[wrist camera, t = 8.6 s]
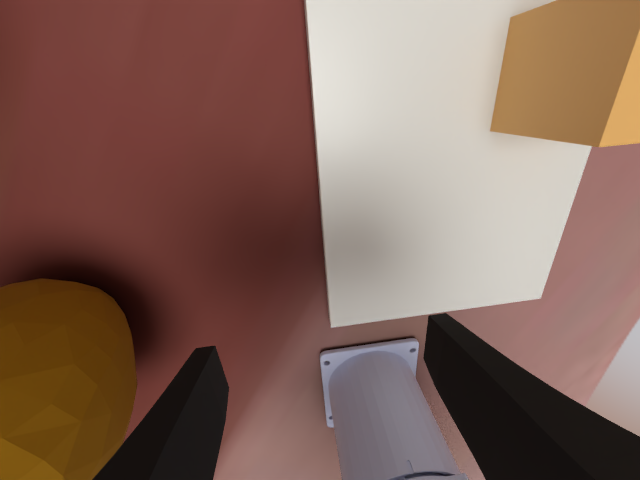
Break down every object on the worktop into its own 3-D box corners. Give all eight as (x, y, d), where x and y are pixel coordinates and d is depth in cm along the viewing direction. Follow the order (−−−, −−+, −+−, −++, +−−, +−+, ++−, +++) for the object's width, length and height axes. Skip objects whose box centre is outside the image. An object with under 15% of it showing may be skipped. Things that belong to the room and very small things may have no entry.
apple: (204, 345, 21) (108, 638, 10) (72, 390, 22) (-170, 721, 10) (108, 216, 16) (-323, 498, 5) (-61, 278, 17) (-831, 674, 5)
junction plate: (530, 290, 22) (584, 332, 18) (328, 318, 21) (339, 368, 17) (637, -54, 13) (787, -119, 9) (301, -37, 12) (309, -102, 8)
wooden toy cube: (609, 10, 14) (820, -48, 8) (575, 123, 16) (724, 134, 10) (510, 17, 13) (663, -40, 8) (489, 131, 16) (598, 147, 10)
